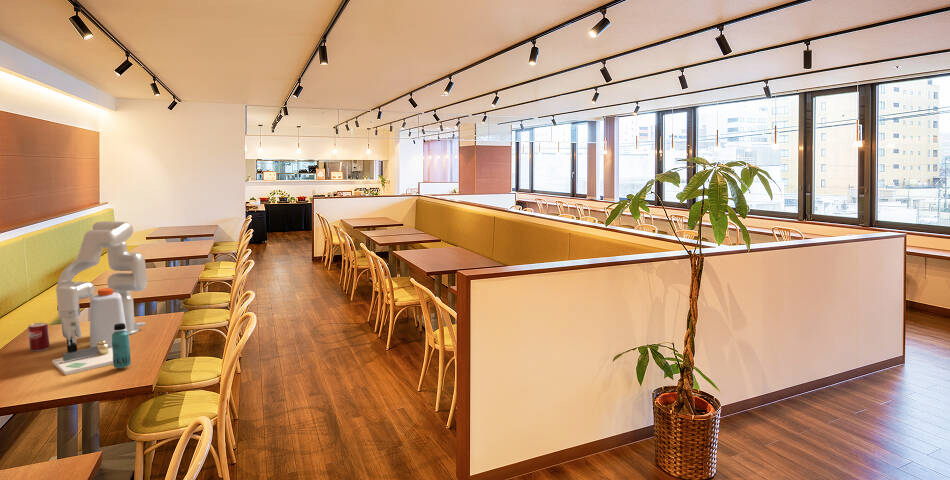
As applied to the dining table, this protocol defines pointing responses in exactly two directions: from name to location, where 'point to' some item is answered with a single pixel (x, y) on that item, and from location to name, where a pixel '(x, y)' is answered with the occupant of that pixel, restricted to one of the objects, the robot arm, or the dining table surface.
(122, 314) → the plastic bottle
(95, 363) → the dial plate
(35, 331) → the soda can
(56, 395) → the dining table surface
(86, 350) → the lever
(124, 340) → the beverage bottle
